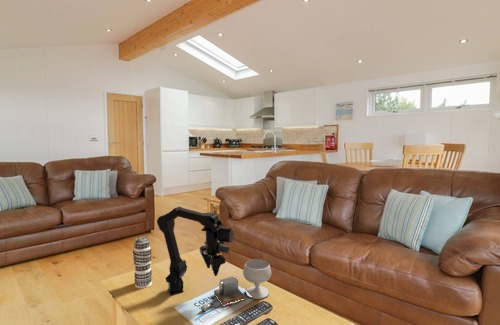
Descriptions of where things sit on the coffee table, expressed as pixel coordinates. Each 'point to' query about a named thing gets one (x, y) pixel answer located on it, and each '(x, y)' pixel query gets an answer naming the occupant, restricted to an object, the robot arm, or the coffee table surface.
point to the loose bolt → (206, 306)
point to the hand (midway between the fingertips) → (212, 271)
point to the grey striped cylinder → (142, 262)
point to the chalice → (257, 277)
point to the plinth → (229, 297)
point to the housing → (228, 286)
